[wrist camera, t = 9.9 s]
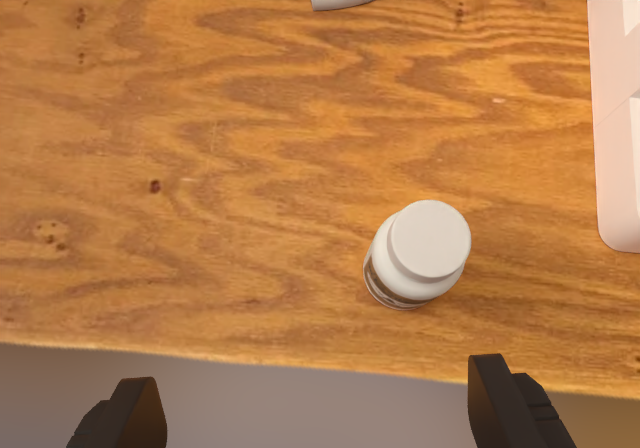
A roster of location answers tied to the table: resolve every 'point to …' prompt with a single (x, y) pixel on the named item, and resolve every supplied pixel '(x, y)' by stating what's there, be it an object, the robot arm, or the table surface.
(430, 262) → the pill bottle
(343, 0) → the ornament
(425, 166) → the table surface
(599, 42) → the bracket
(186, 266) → the table surface
